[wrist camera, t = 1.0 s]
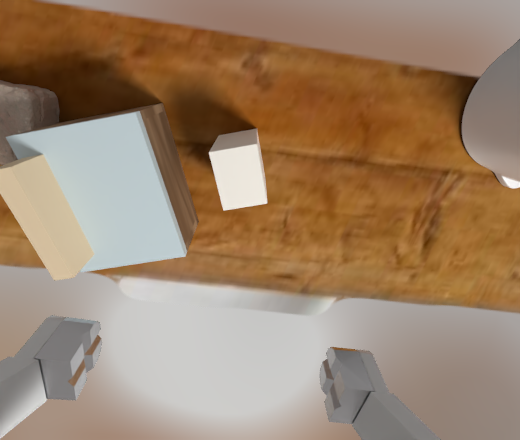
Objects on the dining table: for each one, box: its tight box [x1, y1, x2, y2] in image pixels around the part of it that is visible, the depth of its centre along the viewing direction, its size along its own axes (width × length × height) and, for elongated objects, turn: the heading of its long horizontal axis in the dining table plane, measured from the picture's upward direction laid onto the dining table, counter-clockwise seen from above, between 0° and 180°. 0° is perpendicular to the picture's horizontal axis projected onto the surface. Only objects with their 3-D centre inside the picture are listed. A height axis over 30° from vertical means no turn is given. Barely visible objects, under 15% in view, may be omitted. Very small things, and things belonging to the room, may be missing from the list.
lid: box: [0, 111, 187, 280], centre depth 28 cm, size 12×15×5 cm
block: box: [209, 129, 267, 211], centre depth 32 cm, size 4×6×8 cm
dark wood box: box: [18, 103, 199, 250], centre depth 33 cm, size 12×15×7 cm
